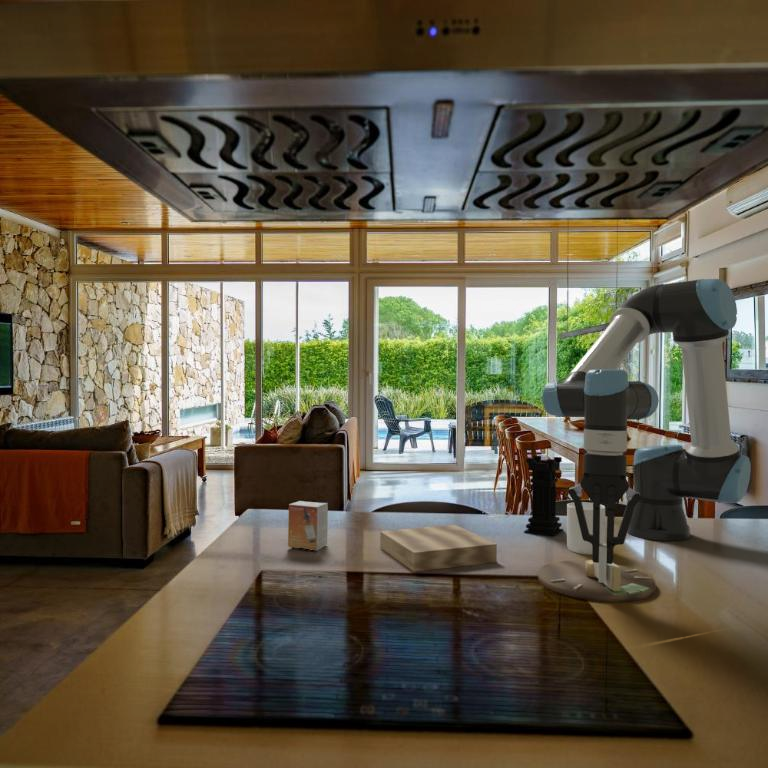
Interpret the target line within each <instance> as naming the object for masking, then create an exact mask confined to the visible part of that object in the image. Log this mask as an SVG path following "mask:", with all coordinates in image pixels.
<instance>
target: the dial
mask: <svg viewBox="0 0 768 768" xmlns="http://www.w3.org/2000/svg"><path fill="white" fill-rule="evenodd" d="M586 561H587V560H563V561H561V560H560V561H556V562H551V563H548V564H545V565H542V566H540V568H539V569H538V571H537V580H538V581H539V583H540V585H542V586H543V587H544V588H547V589H548V590H550V591H553V592H555V593H558V594H561V595H564V596H567V597H572V598H574V599H575V598H576V599H579V600H580V599H581V600H586V601H593V602H594V601H595V602H602V603H604V602H605V603H625V602H626V603H627V602H628V603H629V602H637V601H641V600H645V599H648V598H650V597H652V596H653V595H655V593H656V581H655V579H654V578H652V577H651V576H650V575H649V574H647V573H645V572H642V571H641V570H638V569H637V568H633V567H632V568H631V567H628V566H624V565H620V564H616V565H617V566H618V567H619V568H620V569H621V582H620V591H613V590H612V589H610V588H609V587H608V586H606V585H605V584H604V583H601V582H598V581H599V579H598V578H594V577H589V576H587V575H586ZM654 592H655V593H654ZM651 595H652V596H651Z"/></svg>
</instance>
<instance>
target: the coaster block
mask: <svg viewBox="0 0 768 768" xmlns="http://www.w3.org/2000/svg"><path fill="white" fill-rule="evenodd" d="M379 533H380V536H379V538H380V539H379V541H380V543H379V545H380V546H379V548H380V549H381V550H383V551H384V552H385V553H387V554H388V555H390V557H392V558H394V559H395V560H396V561H398V562H400V563H401V564H402V565H404V567H406V568H408V569H409V570H411V571H412V572H414V573H415V572H422V571H423V572H424V571H431V570H441V569H448V568H457V567H466V566H475V565H483V564H485V565H486V564H493V563H497V561H498V560H497V559H498V557H497V553H498V552H497V551H498V550H497V548H498V547H497V543H495V542H494V541H493V542H492V541H491V540H489V539H487V538H484V537H482V536H480V535H478V534H476V533H474V532H471V531H470V530H467V529H465V528H463V527H461V526H459V525H456V524H449V525H448V524H447V525H437V526H426V527H425V526H424V527H414V528H413V527H412V528H402V529H391V530H380V532H379Z"/></svg>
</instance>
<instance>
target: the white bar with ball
mask: <svg viewBox="0 0 768 768" xmlns="http://www.w3.org/2000/svg"><path fill="white" fill-rule="evenodd" d="M585 561H586V575H587V576H589V577H594V578H598V579H599V563H595V562H593V560H592V559H587V560H585ZM617 565H618V564H616V563H614V562H613V563H612V564H606V583H604V584H605V585H606V586H608V587H609V588H610V589H612V590H613V591H620V582H621V569H620V568H619V567H618V566H617Z"/></svg>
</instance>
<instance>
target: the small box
mask: <svg viewBox="0 0 768 768" xmlns="http://www.w3.org/2000/svg"><path fill="white" fill-rule="evenodd" d="M328 510H329V504H328V502H316V501H315V502H313V501H304V500H298V501H296V502H292V503H289V504H288V529H287V530H288V531H287V533H288V534H287V536H288V537H287V547H288V546H289V547H288V548H290V547H294V548H293V549H299V548H305V549H312V550H318V551H320V550H322V549H323V548H322V547H324V546H326V545H327V546H328V526H329V524H328V522H329V521H328V518H329V517H328V516H329V515H328V514H329V511H328ZM327 546H326V547H327ZM321 548H322V549H321ZM324 548H325V547H324ZM305 549H304V550H305ZM319 549H320V550H319Z"/></svg>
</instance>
